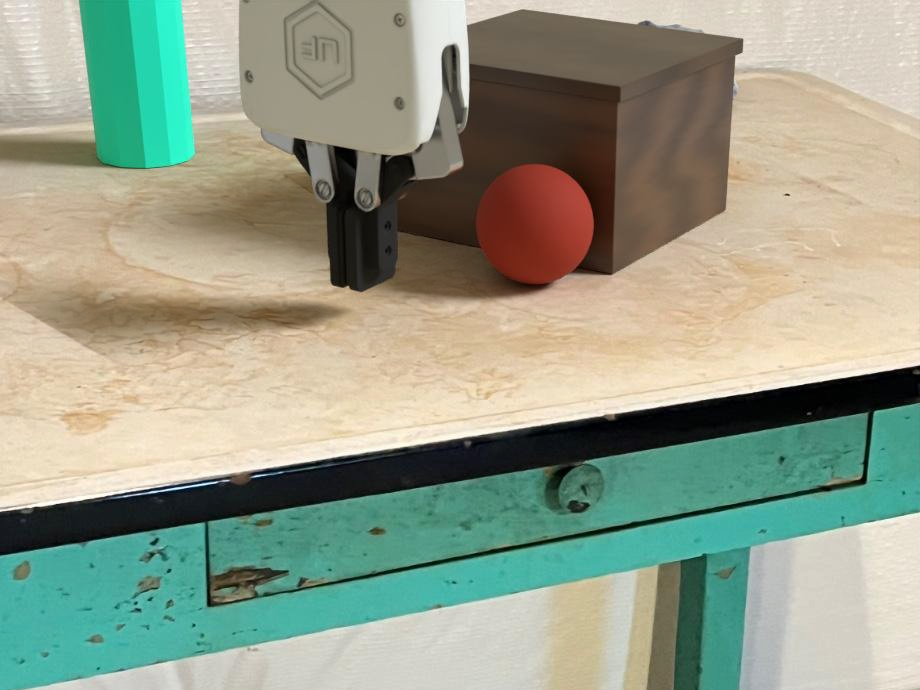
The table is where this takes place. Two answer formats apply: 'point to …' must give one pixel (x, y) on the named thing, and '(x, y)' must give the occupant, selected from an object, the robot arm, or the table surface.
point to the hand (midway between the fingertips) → (363, 281)
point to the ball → (534, 224)
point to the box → (592, 128)
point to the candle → (138, 81)
